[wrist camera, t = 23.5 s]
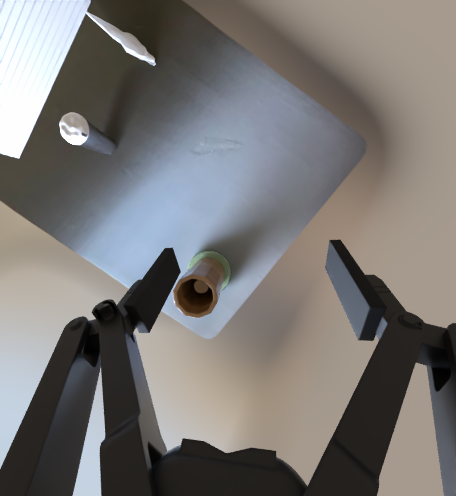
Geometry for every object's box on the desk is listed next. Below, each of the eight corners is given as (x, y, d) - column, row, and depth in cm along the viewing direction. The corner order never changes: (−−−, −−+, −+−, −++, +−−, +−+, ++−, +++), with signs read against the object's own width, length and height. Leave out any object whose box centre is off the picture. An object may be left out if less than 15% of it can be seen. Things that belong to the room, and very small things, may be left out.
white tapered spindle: (161, 59, 36) (157, 50, 34) (154, 73, 36) (149, 65, 35) (92, 9, 35) (83, -3, 34) (85, 23, 36) (76, 13, 34)
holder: (238, 263, 41) (238, 276, 32) (218, 299, 42) (212, 321, 34) (200, 242, 41) (189, 249, 32) (181, 279, 42) (165, 295, 33)
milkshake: (117, 165, 39) (76, 148, 30) (93, 151, 39) (44, 129, 29) (126, 144, 39) (87, 119, 29) (102, 129, 39) (55, 99, 29)
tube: (230, 267, 40) (225, 288, 28) (214, 294, 41) (203, 325, 29) (202, 251, 40) (185, 266, 28) (187, 279, 41) (165, 304, 29)
